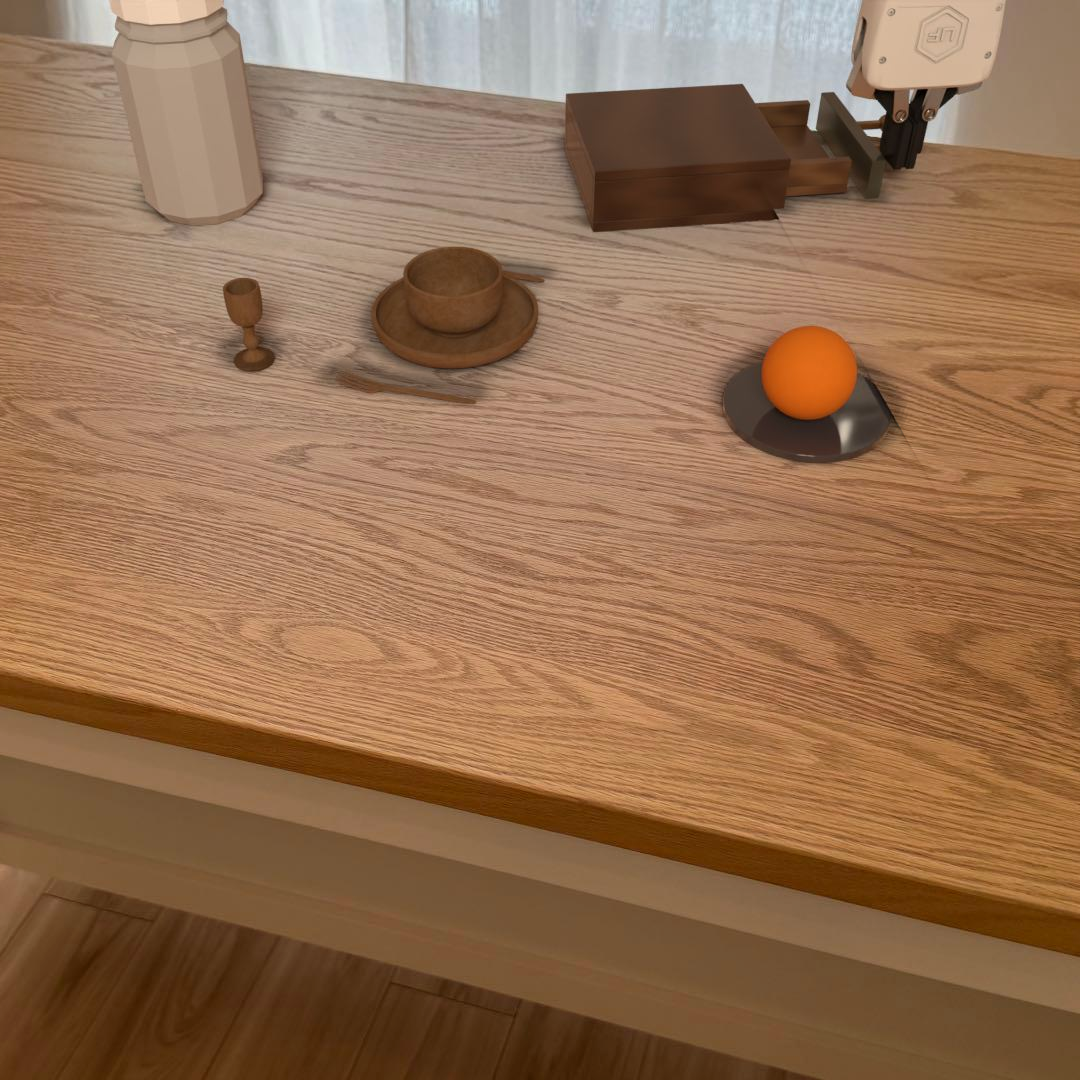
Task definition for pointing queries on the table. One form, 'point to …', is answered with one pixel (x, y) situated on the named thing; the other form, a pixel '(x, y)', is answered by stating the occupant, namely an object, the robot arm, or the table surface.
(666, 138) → the cabinet
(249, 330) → the place setting
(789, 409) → the orange
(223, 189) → the jar
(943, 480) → the table surface
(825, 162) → the drawer
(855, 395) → the coaster
